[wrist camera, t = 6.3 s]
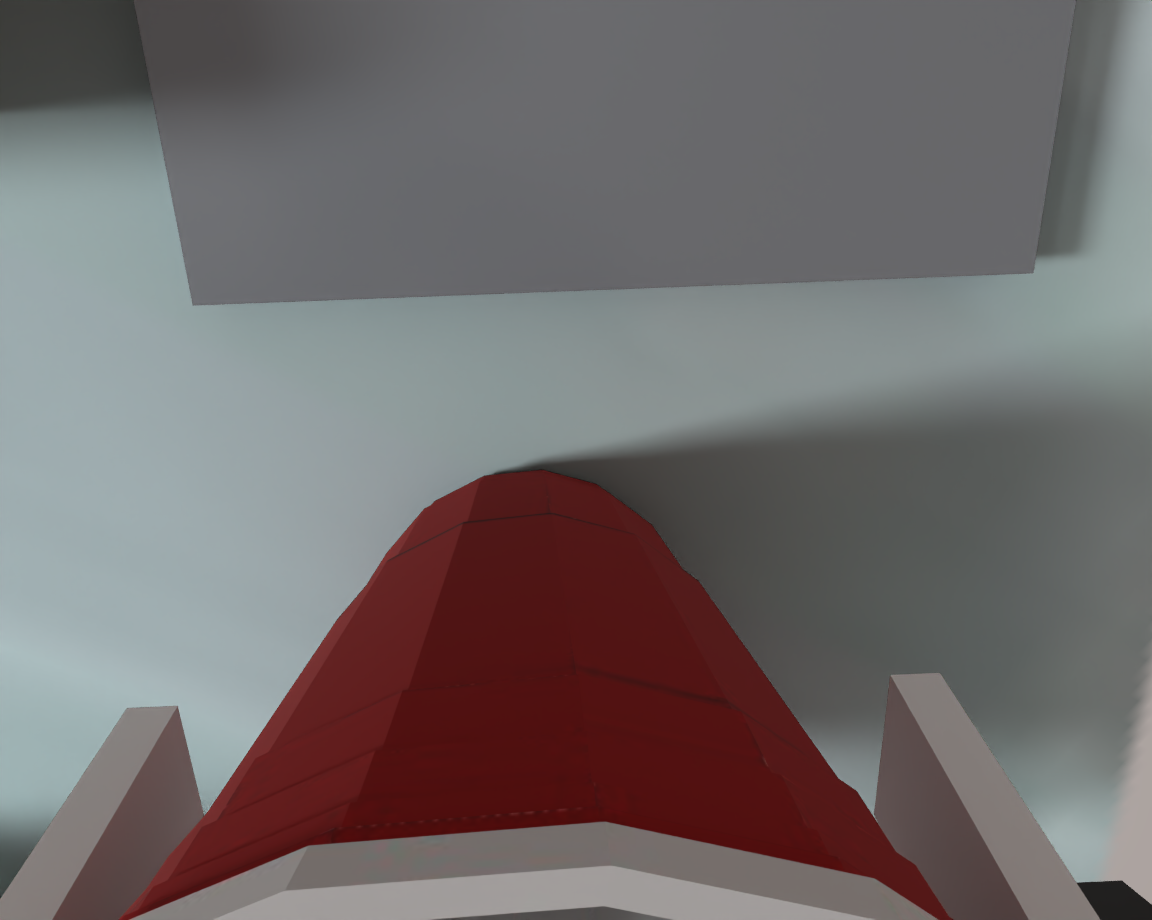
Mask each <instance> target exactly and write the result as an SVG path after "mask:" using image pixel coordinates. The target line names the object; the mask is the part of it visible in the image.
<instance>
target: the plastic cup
mask: <svg viewBox="0 0 1152 920" xmlns="http://www.w3.org/2000/svg"><path fill="white" fill-rule="evenodd" d="M119 920H954V919H952V918H951V917H949V916H948V914H947V913H946V911H945V909H944V908H943V906H942V905H941V903H940V902H939V900H938V899H937V897H936V896H935V894H934V893H933V891H932V890H931V888H930V886H929V885H928V883H927V882H926V880H925V879H924V877H923V876H922V874H921V873H920V871H919V870H918V868H917V866H916V865H915V864H914V863H912V862H911V861H909V860H908V859H906V858H905V857H903V856H902V855H900V854H899V853H897V852H896V851H895V849H894V848H893V846H892V845H891V843H890V841H889V840H888V838H887V837H886V835H885V834H884V832H883V831H882V829H881V828H880V826H879V825H878V823H877V822H876V820H875V818H874V817H873V815H872V814H871V812H870V811H869V809H868V808H867V806H866V805H865V803H864V802H863V800H862V799H861V797H860V795H859V794H858V792H857V791H856V790H854V789H853V788H851V787H850V786H848V785H847V784H846V783H844V782H843V781H841V780H840V779H838V777H837V776H836V775H835V773H834V772H833V770H832V769H831V767H830V766H829V765H828V763H827V762H826V760H825V759H824V758H823V756H822V755H821V753H820V752H819V751H818V749H817V748H816V746H815V745H814V743H813V742H812V741H811V739H810V738H809V736H808V735H807V734H806V732H805V731H804V729H803V728H802V727H801V725H800V724H799V722H798V721H797V719H796V718H795V717H794V715H793V714H792V712H791V711H790V710H789V708H788V707H787V705H786V704H785V703H784V701H783V700H782V698H781V697H780V695H779V694H778V693H777V691H776V690H775V688H774V687H773V686H772V684H771V683H770V681H769V680H768V678H767V677H766V676H765V674H764V673H763V671H762V670H761V669H760V667H759V666H758V664H757V663H756V662H755V660H754V659H753V657H752V656H751V654H750V653H749V652H748V650H747V649H746V647H745V646H744V645H743V643H742V642H741V640H740V639H739V638H738V636H737V635H736V633H735V632H734V630H733V629H732V628H731V626H730V625H729V623H728V622H727V621H726V619H725V618H724V616H723V615H722V613H721V612H720V611H719V609H718V608H717V606H716V605H715V604H714V602H713V601H712V599H711V598H710V597H709V595H708V594H707V592H706V591H705V589H704V588H703V587H702V585H701V584H700V582H699V581H698V580H697V579H695V578H694V577H693V576H691V575H690V574H689V573H687V572H686V571H685V570H683V569H682V567H681V566H680V564H679V563H678V562H677V560H676V559H675V557H674V556H673V554H672V553H671V552H670V550H669V549H668V547H667V546H666V544H665V543H664V542H663V540H662V539H661V537H660V536H659V535H658V533H657V532H656V530H655V529H654V527H653V526H652V525H651V524H650V523H649V522H647V521H646V520H645V519H643V518H642V517H641V516H639V515H638V514H637V513H635V512H634V511H633V510H631V509H630V508H629V507H627V506H626V505H625V504H623V503H622V502H621V501H619V500H618V499H616V498H615V497H614V496H612V495H611V494H610V493H608V492H607V491H606V490H604V489H602V488H601V487H600V486H598V485H597V484H594V483H590V482H586V481H583V480H579V479H575V478H571V477H568V476H564V475H560V474H556V473H552V472H549V471H545V470H534V471H525V472H515V473H506V474H496V475H487V476H483V477H481V478H479V479H477V480H475V481H473V482H471V483H469V484H467V485H465V486H463V487H461V488H459V489H458V490H456V491H454V492H452V493H450V494H448V495H446V496H444V497H442V498H440V499H438V500H436V501H434V503H433V504H432V505H431V506H429V507H427V508H425V509H424V510H423V511H422V512H421V513H420V514H419V516H418V517H417V518H416V519H415V520H414V521H413V523H412V524H411V525H410V526H409V527H408V529H407V530H406V531H405V532H404V533H403V534H402V536H401V537H400V538H399V539H398V540H397V542H396V543H395V544H394V545H393V546H392V547H391V549H390V550H389V551H388V552H387V553H386V555H385V557H384V558H383V560H382V561H381V563H380V565H379V566H378V568H377V569H376V571H375V572H374V574H373V576H372V577H371V579H370V580H369V582H368V583H367V585H366V586H365V587H364V589H363V590H362V591H361V592H360V593H359V594H358V596H357V597H356V598H355V599H354V600H353V602H352V603H351V604H350V605H349V606H348V607H347V609H346V610H345V611H344V612H343V613H342V614H341V616H340V617H339V618H338V619H337V621H336V622H335V624H334V625H333V627H332V628H331V630H330V631H329V633H328V634H327V635H326V637H325V638H324V640H323V641H322V643H321V644H320V646H319V647H318V649H317V650H316V652H315V653H314V655H313V656H312V658H311V659H310V661H309V662H308V664H307V665H306V667H305V668H304V670H303V671H302V673H301V674H300V676H299V677H298V679H297V680H296V682H295V683H294V685H293V686H292V687H291V689H290V690H289V692H288V693H287V695H286V696H285V698H284V699H283V701H282V702H281V704H280V705H279V707H278V708H277V710H276V711H275V713H274V714H273V716H272V717H271V719H270V720H269V722H268V723H267V725H266V726H265V728H264V729H263V731H262V732H261V734H260V735H259V737H258V738H257V739H256V741H255V742H254V744H253V745H252V747H251V748H250V750H249V751H248V753H247V754H246V756H245V757H244V759H243V760H242V762H241V763H240V765H239V766H238V768H237V769H236V771H235V772H234V774H233V775H232V777H231V778H230V780H229V781H228V783H227V784H226V786H225V787H224V789H223V790H222V791H221V793H220V794H219V796H218V797H217V799H216V800H215V802H214V803H213V805H212V806H211V808H210V809H209V811H208V812H207V813H206V815H205V816H204V817H203V818H202V819H201V820H200V821H199V822H198V824H197V825H196V826H195V827H194V828H193V829H192V830H191V831H190V833H189V834H188V835H187V836H186V837H185V838H184V839H183V840H182V842H181V843H180V844H179V845H178V846H177V847H176V848H175V850H174V851H173V852H172V853H171V854H170V855H169V856H168V857H167V859H166V860H165V862H164V863H163V865H162V866H161V868H160V869H159V871H158V872H157V874H156V875H155V877H154V878H153V880H152V881H151V883H150V884H149V886H148V887H147V888H146V890H145V891H144V892H143V893H142V894H141V895H140V896H139V897H138V898H137V900H136V901H135V902H134V903H133V904H132V905H131V906H130V907H129V908H128V910H127V911H126V912H125V913H124V914H123V915H122V916H121V917H120V918H119Z"/></svg>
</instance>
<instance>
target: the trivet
mask: <svg viewBox="0 0 1152 920" xmlns="http://www.w3.org/2000/svg"><path fill="white" fill-rule="evenodd" d="M1075 5H1076V0H134V6H135V11H136V16H137V21H138V26H139V31H140V36H141V42H142V47H143V52H144V57H145V62H146V67H147V72H148V77H149V83H150V88H151V93H152V98H153V103H154V108H155V113H156V119H157V124H158V129H159V134H160V139H161V144H162V149H163V154H164V160H165V165H166V170H167V175H168V180H169V185H170V190H171V196H172V201H173V206H174V211H175V216H176V221H177V226H178V231H179V237H180V242H181V247H182V252H183V257H184V262H185V267H186V273H187V278H188V283H189V288H190V293H191V298H192V303H193V305H217V304H243V303H269V302H295V301H321V300H347V299H373V298H399V297H425V296H451V295H478V294H504V293H530V292H556V291H582V290H608V289H634V288H660V287H686V286H712V285H739V284H765V283H791V282H817V281H843V280H869V279H895V278H921V277H947V276H973V275H999V274H1026V273H1033V272H1034V266H1035V259H1036V253H1037V247H1038V240H1039V234H1040V228H1041V221H1042V215H1043V208H1044V202H1045V196H1046V189H1047V183H1048V177H1049V170H1050V164H1051V158H1052V151H1053V145H1054V139H1055V132H1056V126H1057V119H1058V113H1059V107H1060V100H1061V94H1062V88H1063V81H1064V75H1065V69H1066V62H1067V56H1068V50H1069V43H1070V37H1071V30H1072V24H1073V18H1074V11H1075Z"/></svg>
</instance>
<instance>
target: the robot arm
mask: <svg viewBox="0 0 1152 920" xmlns="http://www.w3.org/2000/svg"><path fill="white" fill-rule="evenodd" d="M874 815H875V817H876V819H877V822H878V824H879V826H880V828H881V829H882V831H883V832H884V834H885V835H886V837H887V838H888V840H889V841H890V843H891V845H892V846H893V848H894V849H895V851H896V852H897V853H899V854H900V855H902V856H903V857H905V858H906V859H908V860H909V861H911V862H912V863H914V864H915V865H916V866H917V868H918V870H919V871H920V873H921V874H922V876H923V877H924V879H925V880H926V882H927V883H928V885H929V886H930V888H931V890H932V891H933V893H934V894H935V896H936V897H937V899H938V900H939V902H940V903H941V905H942V906H943V908H944V909H945V911H946V913H947V914H948V916H949V917H951V918H952V919H954V920H1152V905H1151V904H1150V903H1149V902H1147V901H1146V900H1145V899H1144V898H1143V897H1141V896H1140V895H1139V894H1138V893H1136V892H1135V891H1134V890H1133V889H1131V888H1130V887H1129V886H1128V885H1126V884H1125V883H1124V882H1123V881H1104V882H1083V883H1076V881H1075V880H1074V878H1073V877H1072V875H1071V874H1070V872H1069V871H1068V869H1067V868H1066V866H1065V864H1064V863H1063V861H1062V860H1061V858H1060V857H1059V855H1058V854H1057V852H1056V851H1055V849H1054V848H1053V846H1052V844H1051V843H1050V841H1049V840H1048V838H1047V837H1046V835H1045V834H1044V832H1043V831H1042V829H1041V828H1040V826H1039V825H1038V823H1037V821H1036V820H1035V818H1034V817H1033V815H1032V814H1031V812H1030V811H1029V809H1028V808H1027V806H1026V805H1025V803H1024V801H1023V800H1022V798H1021V797H1020V795H1019V794H1018V792H1017V791H1016V789H1015V788H1014V786H1013V785H1012V783H1011V781H1010V780H1009V778H1008V777H1007V775H1006V774H1005V772H1004V771H1003V769H1002V768H1001V766H1000V765H999V763H998V761H997V760H996V758H995V757H994V755H993V754H992V752H991V751H990V749H989V748H988V746H987V745H986V743H985V741H984V740H983V738H982V737H981V735H980V734H979V732H978V731H977V729H976V728H975V726H974V725H973V723H972V721H971V720H970V718H969V717H968V715H967V714H966V712H965V711H964V709H963V708H962V706H961V705H960V703H959V701H958V700H957V698H956V697H955V695H954V694H953V692H952V691H951V689H950V688H949V686H948V685H947V683H946V681H945V680H944V678H943V677H942V675H941V674H940V673H923V674H899V675H890V682H889V691H888V699H887V708H886V716H885V725H884V733H883V742H882V750H881V759H880V767H879V776H878V784H877V793H876V801H875V810H874ZM203 817H204V813H203V809H202V805H201V801H200V797H199V793H198V788H197V784H196V780H195V776H194V772H193V768H192V764H191V759H190V755H189V751H188V747H187V743H186V739H185V735H184V730H183V726H182V722H181V718H180V714H179V710H178V706H162V707H140V708H127V709H126V710H125V712H124V713H123V715H122V716H121V718H120V719H119V721H118V722H117V724H116V725H115V727H114V728H113V730H112V731H111V733H110V735H109V736H108V738H107V739H106V741H105V742H104V744H103V745H102V747H101V748H100V750H99V751H98V753H97V754H96V756H95V757H94V759H93V760H92V762H91V763H90V765H89V766H88V768H87V769H86V771H85V772H84V774H83V775H82V777H81V778H80V780H79V781H78V783H77V784H76V786H75V787H74V789H73V790H72V792H71V793H70V795H69V796H68V798H67V799H66V801H65V802H64V804H63V805H62V807H61V808H60V810H59V811H58V813H57V814H56V816H55V817H54V819H53V820H52V822H51V823H50V825H49V826H48V828H47V829H46V831H45V832H44V834H43V835H42V837H41V838H40V840H39V841H38V843H37V844H36V846H35V848H34V849H33V851H32V852H31V854H30V855H29V857H28V858H27V860H26V861H25V863H24V864H23V866H22V867H21V869H20V870H19V872H18V873H17V875H16V876H15V878H14V879H13V881H12V882H11V884H10V885H9V887H8V888H7V890H6V891H5V893H4V894H3V896H2V897H1V899H0V920H119V918H120V917H121V916H122V915H123V914H124V913H125V912H126V911H127V910H128V908H129V907H130V906H131V905H132V904H133V903H134V902H135V901H136V900H137V898H138V897H139V896H140V895H141V894H142V893H143V892H144V891H145V890H146V888H147V887H148V886H149V884H150V883H151V881H152V880H153V878H154V877H155V875H156V874H157V872H158V871H159V869H160V868H161V866H162V865H163V863H164V862H165V860H166V859H167V857H168V856H169V855H170V854H171V853H172V852H173V851H174V850H175V848H176V847H177V846H178V845H179V844H180V843H181V842H182V840H183V839H184V838H185V837H186V836H187V835H188V834H189V833H190V831H191V830H192V829H193V828H194V827H195V826H196V825H197V824H198V822H199V821H200V820H201V819H202V818H203Z"/></svg>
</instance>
